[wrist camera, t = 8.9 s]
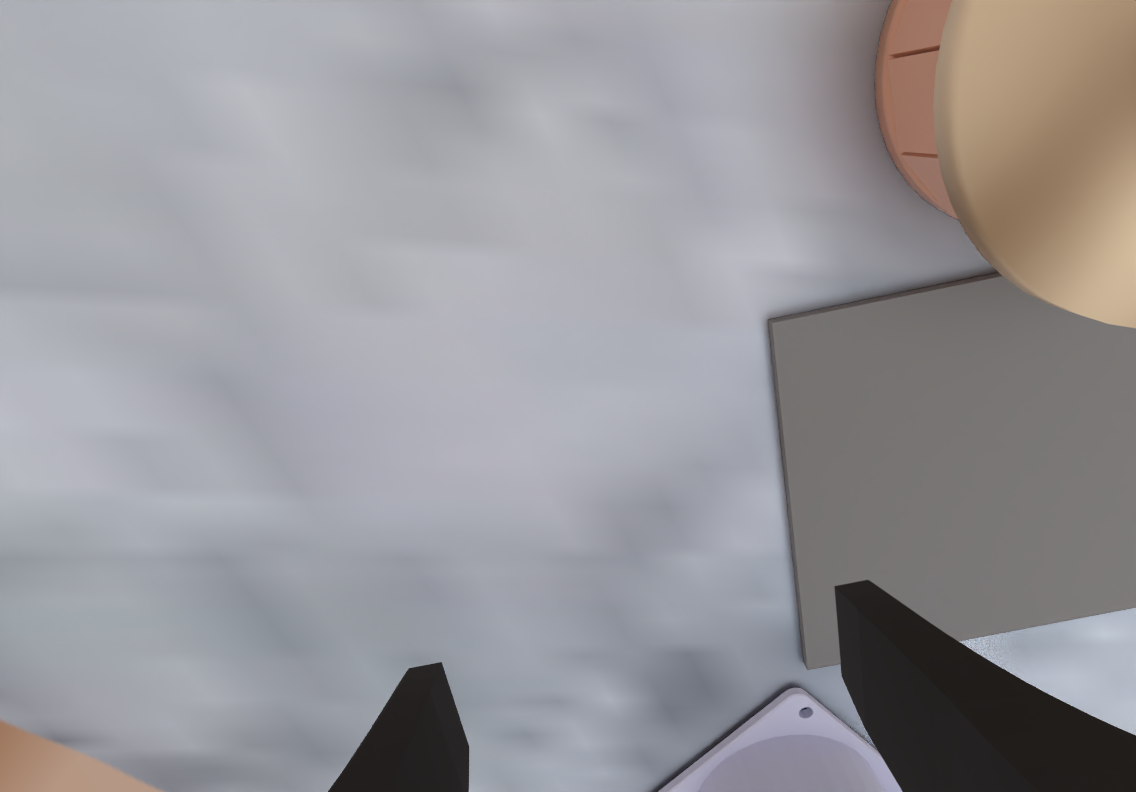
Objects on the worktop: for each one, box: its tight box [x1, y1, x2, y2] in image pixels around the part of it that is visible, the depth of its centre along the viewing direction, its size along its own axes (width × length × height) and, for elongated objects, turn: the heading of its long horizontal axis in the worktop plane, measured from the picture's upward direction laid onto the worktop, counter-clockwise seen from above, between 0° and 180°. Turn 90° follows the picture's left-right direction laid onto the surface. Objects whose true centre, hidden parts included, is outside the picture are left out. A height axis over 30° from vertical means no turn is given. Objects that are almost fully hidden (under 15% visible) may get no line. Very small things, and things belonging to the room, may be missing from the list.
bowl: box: [875, 0, 959, 220], centre depth 17 cm, size 9×9×5 cm
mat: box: [768, 273, 1136, 670], centre depth 24 cm, size 13×16×1 cm
